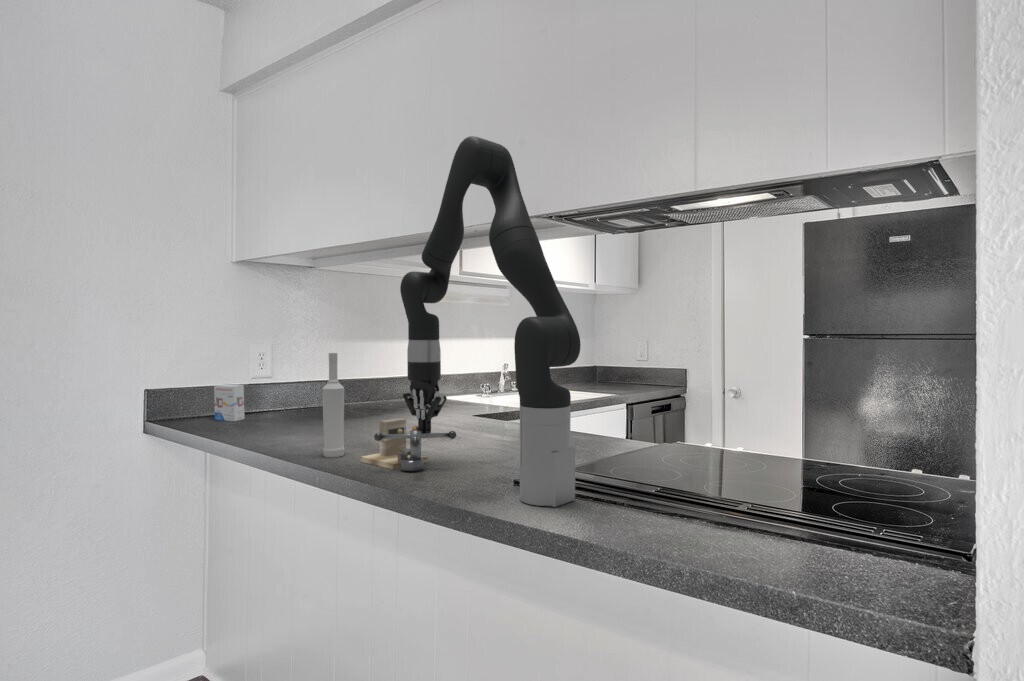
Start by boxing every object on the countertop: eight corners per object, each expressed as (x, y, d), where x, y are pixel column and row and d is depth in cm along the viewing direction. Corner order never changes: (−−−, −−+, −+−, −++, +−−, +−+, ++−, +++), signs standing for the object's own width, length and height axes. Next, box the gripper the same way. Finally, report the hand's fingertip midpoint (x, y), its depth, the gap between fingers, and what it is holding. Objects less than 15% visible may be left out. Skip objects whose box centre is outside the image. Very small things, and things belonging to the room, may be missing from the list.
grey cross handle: (454, 458, 149) (454, 423, 149) (458, 476, 131) (458, 436, 131) (377, 461, 146) (376, 425, 146) (371, 479, 129) (370, 439, 128)
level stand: (434, 463, 145) (434, 423, 145) (400, 471, 138) (400, 429, 137) (395, 455, 155) (394, 417, 154) (360, 461, 147) (360, 422, 147)
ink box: (213, 420, 211) (213, 385, 211) (224, 418, 216) (223, 383, 216) (234, 421, 209) (234, 385, 208) (245, 419, 214) (244, 384, 213)
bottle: (318, 456, 153) (317, 353, 152) (333, 452, 158) (332, 352, 157) (334, 458, 151) (333, 353, 150) (349, 454, 155) (348, 352, 155)
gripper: (456, 360, 143) (456, 436, 143) (417, 358, 152) (418, 430, 152) (431, 361, 137) (431, 441, 138) (392, 359, 146) (393, 434, 146)
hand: (424, 435), depth 145 cm, fingers closed
